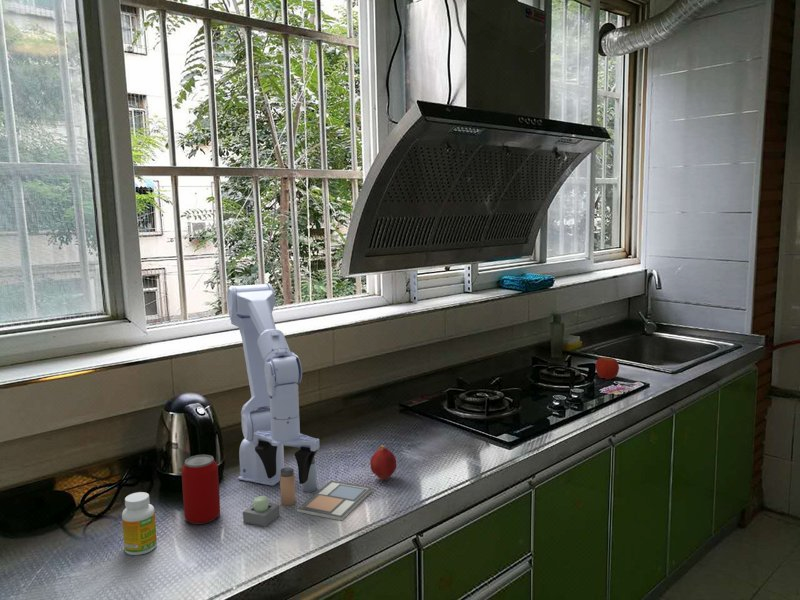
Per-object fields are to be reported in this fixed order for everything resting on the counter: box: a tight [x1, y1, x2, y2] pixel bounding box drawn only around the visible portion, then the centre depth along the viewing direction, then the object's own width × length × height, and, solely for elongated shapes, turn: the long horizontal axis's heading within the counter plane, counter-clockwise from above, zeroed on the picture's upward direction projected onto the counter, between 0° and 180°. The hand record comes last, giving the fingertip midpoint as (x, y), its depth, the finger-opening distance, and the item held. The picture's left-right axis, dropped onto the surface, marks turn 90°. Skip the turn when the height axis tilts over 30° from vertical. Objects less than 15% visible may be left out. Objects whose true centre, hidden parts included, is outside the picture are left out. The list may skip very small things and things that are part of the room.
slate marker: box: [302, 456, 318, 493], centre depth 136 cm, size 3×3×7 cm
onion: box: [369, 445, 397, 481], centre depth 140 cm, size 6×6×8 cm
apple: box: [595, 356, 620, 380], centre depth 220 cm, size 8×8×8 cm
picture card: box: [296, 480, 373, 521], centre depth 130 cm, size 10×14×1 cm
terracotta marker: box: [279, 466, 297, 506], centre depth 130 cm, size 3×3×7 cm
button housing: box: [242, 501, 281, 528], centre depth 123 cm, size 5×5×2 cm
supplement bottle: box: [121, 491, 158, 556], centre depth 113 cm, size 5×5×10 cm
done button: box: [253, 495, 269, 513], centre depth 123 cm, size 3×3×3 cm
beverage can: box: [181, 454, 221, 525], centre depth 123 cm, size 7×7×12 cm
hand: (287, 479), depth 130 cm, fingers open, 7 cm apart
